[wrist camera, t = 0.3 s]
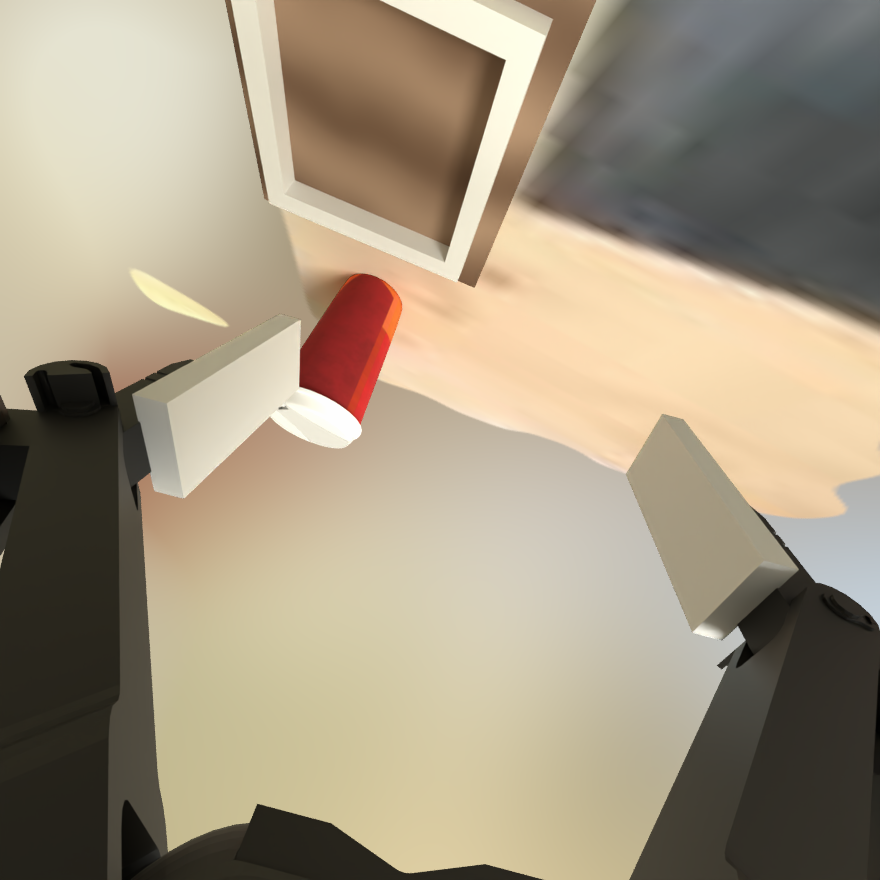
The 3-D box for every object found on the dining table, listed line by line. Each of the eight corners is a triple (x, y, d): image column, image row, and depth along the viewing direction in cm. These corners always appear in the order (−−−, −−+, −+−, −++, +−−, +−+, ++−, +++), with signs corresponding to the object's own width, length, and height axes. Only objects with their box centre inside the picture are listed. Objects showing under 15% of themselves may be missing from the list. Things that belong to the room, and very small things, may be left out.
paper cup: (317, 275, 37) (240, 402, 31) (378, 252, 32) (301, 396, 26) (371, 334, 42) (314, 451, 36) (429, 322, 38) (375, 453, 32)
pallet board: (211, -233, 15) (155, -214, 13) (607, -32, 16) (595, 6, 14) (277, 181, 29) (254, 212, 28) (481, 269, 30) (469, 302, 29)
